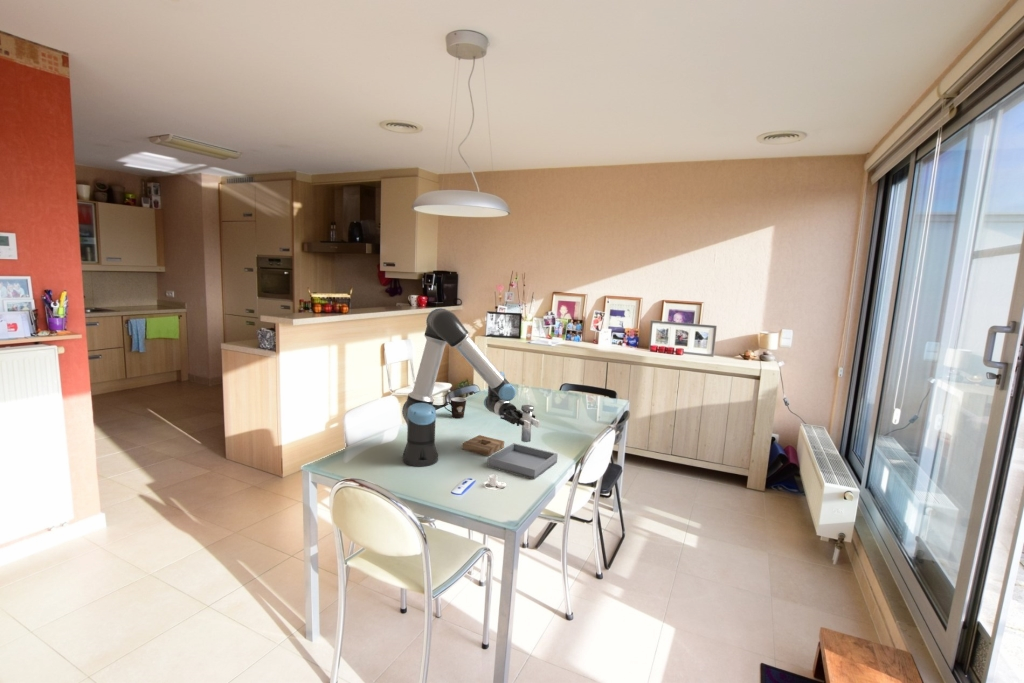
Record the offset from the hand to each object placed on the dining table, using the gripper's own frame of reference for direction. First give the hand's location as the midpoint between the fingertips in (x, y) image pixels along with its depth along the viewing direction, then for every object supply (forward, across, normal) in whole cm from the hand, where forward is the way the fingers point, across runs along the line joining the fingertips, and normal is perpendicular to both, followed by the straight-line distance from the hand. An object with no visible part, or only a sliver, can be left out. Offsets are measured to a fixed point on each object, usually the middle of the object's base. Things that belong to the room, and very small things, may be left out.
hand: (533, 425), depth 208 cm
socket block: (-29, +8, -19) cm, 36 cm away
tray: (-6, +1, -19) cm, 20 cm away
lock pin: (-5, 0, -8) cm, 10 cm away
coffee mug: (-79, -1, -19) cm, 81 cm away
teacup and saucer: (+10, +24, -20) cm, 32 cm away
